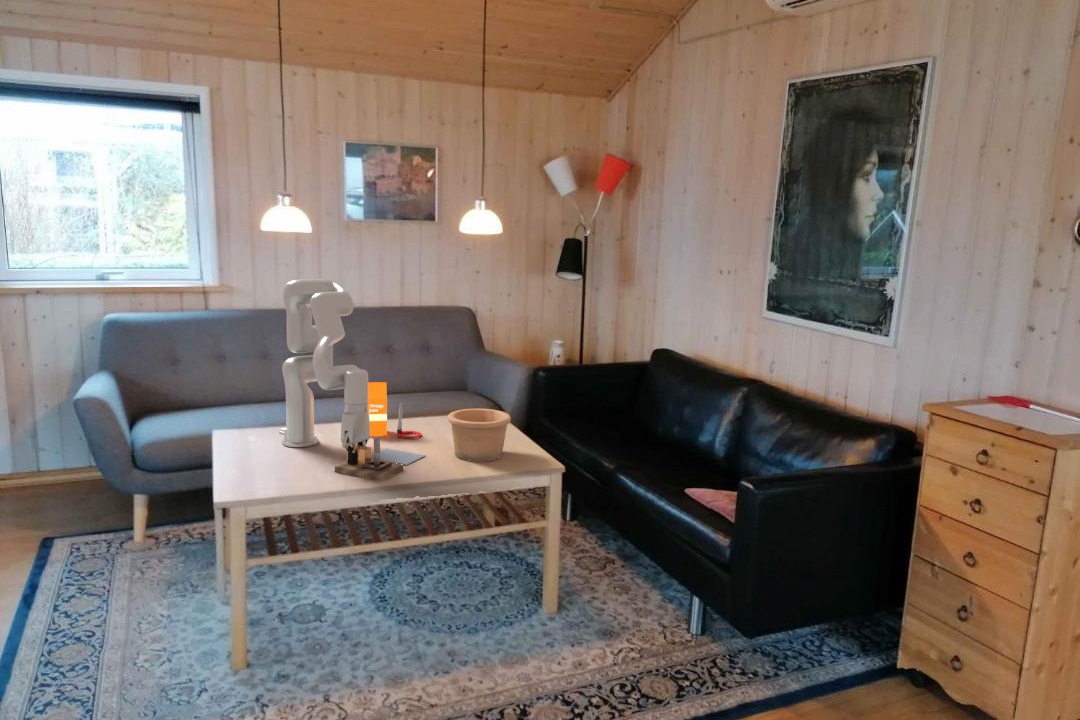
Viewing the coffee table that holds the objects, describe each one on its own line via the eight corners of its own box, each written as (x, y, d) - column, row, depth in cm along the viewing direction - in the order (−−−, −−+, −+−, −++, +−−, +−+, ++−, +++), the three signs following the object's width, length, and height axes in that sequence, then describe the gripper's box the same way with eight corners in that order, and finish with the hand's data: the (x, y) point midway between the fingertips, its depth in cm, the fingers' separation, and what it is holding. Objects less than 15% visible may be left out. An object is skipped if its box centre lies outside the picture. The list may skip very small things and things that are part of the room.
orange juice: (387, 435, 285) (387, 384, 282) (363, 436, 283) (363, 384, 279) (385, 430, 292) (385, 380, 289) (362, 431, 290) (362, 380, 287)
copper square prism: (343, 464, 243) (343, 448, 242) (356, 459, 249) (356, 443, 248) (379, 471, 238) (379, 454, 237) (391, 465, 244) (391, 449, 243)
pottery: (450, 465, 253) (451, 424, 251) (445, 446, 274) (445, 408, 272) (514, 463, 258) (515, 423, 255) (503, 445, 279) (504, 407, 276)
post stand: (334, 472, 242) (334, 435, 239) (357, 462, 252) (357, 427, 250) (381, 481, 235) (381, 444, 233) (402, 470, 246) (403, 435, 243)
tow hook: (422, 434, 291) (398, 432, 290) (424, 402, 288) (400, 400, 288) (420, 440, 282) (395, 438, 282) (422, 407, 280) (397, 405, 280)
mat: (366, 458, 257) (366, 457, 257) (386, 449, 268) (386, 448, 268) (406, 465, 251) (406, 464, 251) (425, 456, 262) (425, 455, 262)
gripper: (362, 401, 251) (362, 454, 254) (330, 411, 236) (330, 467, 239) (381, 404, 248) (380, 457, 251) (349, 414, 233) (349, 471, 236)
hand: (356, 461), depth 245 cm, fingers closed on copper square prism, 3 cm apart
